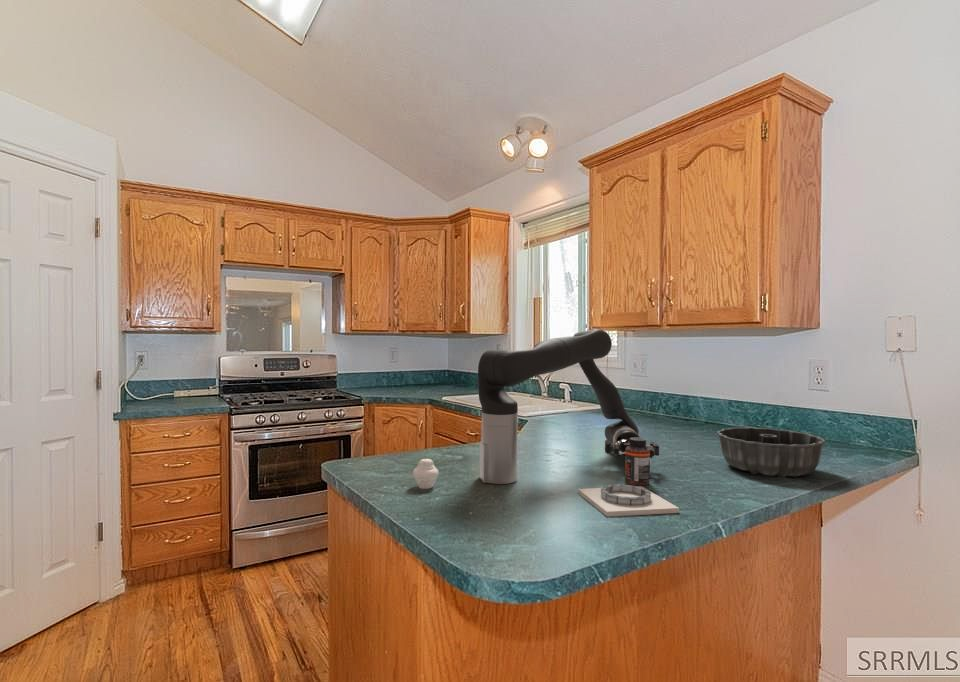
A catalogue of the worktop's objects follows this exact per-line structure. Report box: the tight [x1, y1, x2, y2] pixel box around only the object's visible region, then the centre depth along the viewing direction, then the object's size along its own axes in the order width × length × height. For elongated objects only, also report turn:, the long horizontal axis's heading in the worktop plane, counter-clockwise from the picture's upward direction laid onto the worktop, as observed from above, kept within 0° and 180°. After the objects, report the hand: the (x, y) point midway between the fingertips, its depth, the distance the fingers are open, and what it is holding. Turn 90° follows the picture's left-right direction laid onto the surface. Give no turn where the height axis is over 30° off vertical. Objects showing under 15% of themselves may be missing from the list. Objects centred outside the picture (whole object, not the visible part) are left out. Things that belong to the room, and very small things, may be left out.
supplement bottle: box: [624, 436, 651, 487], centre depth 127 cm, size 6×6×11 cm
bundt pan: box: [716, 427, 826, 478], centre depth 142 cm, size 26×26×10 cm
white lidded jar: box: [412, 458, 440, 490], centre depth 121 cm, size 6×6×7 cm
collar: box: [601, 483, 652, 506], centre depth 111 cm, size 10×10×2 cm
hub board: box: [577, 486, 680, 518], centre depth 111 cm, size 16×16×1 cm
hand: (634, 453), depth 132 cm, fingers open, 8 cm apart
